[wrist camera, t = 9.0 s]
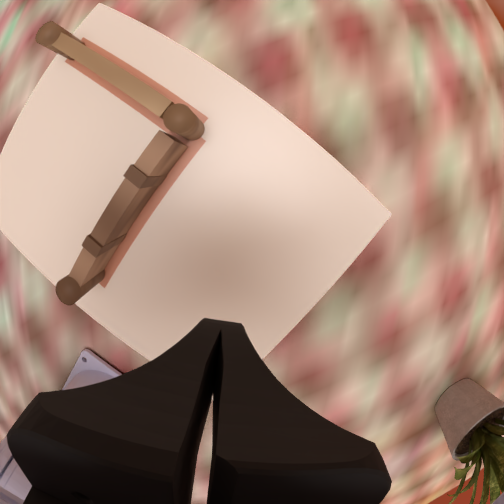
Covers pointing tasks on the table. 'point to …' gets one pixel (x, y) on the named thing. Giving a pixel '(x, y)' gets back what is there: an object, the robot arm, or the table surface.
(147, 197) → the fence panel
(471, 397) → the house plant
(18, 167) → the card
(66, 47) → the fence fixed
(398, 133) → the table surface
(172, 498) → the robot arm
